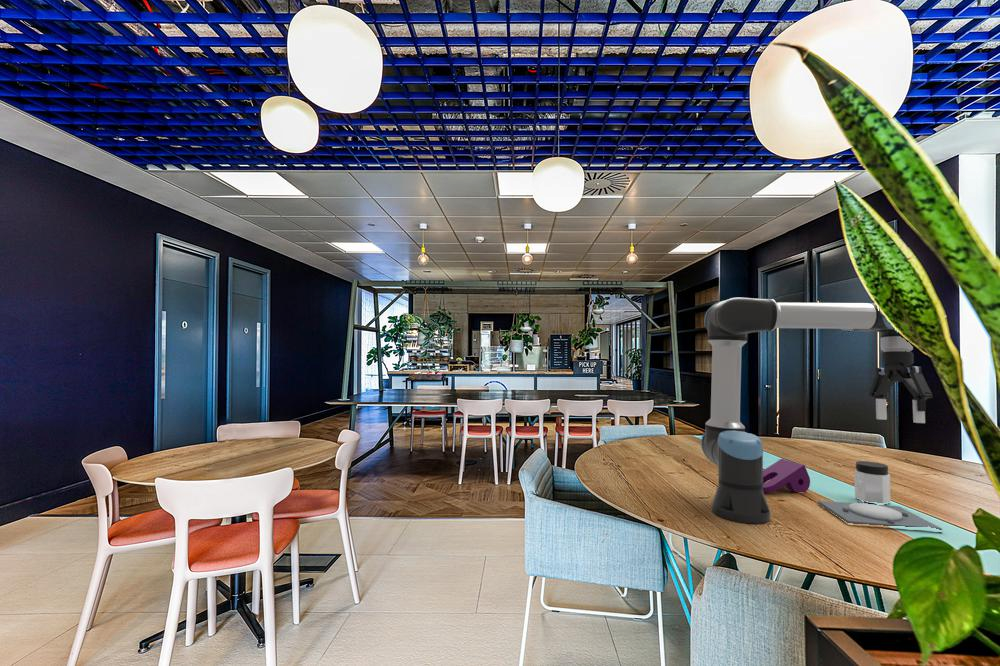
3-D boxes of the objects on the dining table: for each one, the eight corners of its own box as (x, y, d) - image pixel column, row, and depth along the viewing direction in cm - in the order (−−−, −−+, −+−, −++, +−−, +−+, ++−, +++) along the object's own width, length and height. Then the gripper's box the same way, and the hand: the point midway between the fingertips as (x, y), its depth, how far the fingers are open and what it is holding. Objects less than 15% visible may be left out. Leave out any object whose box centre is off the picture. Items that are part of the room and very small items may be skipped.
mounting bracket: (774, 512, 153) (813, 486, 157) (765, 490, 153) (804, 464, 157) (752, 503, 162) (790, 479, 166) (743, 482, 162) (781, 458, 166)
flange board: (848, 525, 127) (848, 517, 127) (818, 504, 144) (818, 497, 144) (942, 533, 122) (942, 524, 122) (899, 510, 140) (898, 503, 140)
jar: (849, 496, 153) (848, 460, 153) (874, 497, 152) (874, 460, 153) (869, 505, 144) (868, 467, 144) (896, 506, 143) (895, 467, 144)
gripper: (947, 349, 129) (951, 425, 126) (877, 355, 153) (879, 418, 151) (920, 347, 129) (923, 423, 126) (854, 353, 154) (856, 417, 151)
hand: (899, 421), depth 139 cm, fingers open, 13 cm apart
